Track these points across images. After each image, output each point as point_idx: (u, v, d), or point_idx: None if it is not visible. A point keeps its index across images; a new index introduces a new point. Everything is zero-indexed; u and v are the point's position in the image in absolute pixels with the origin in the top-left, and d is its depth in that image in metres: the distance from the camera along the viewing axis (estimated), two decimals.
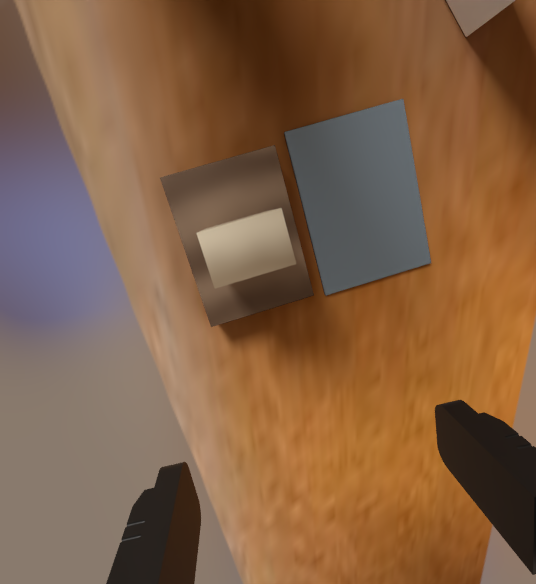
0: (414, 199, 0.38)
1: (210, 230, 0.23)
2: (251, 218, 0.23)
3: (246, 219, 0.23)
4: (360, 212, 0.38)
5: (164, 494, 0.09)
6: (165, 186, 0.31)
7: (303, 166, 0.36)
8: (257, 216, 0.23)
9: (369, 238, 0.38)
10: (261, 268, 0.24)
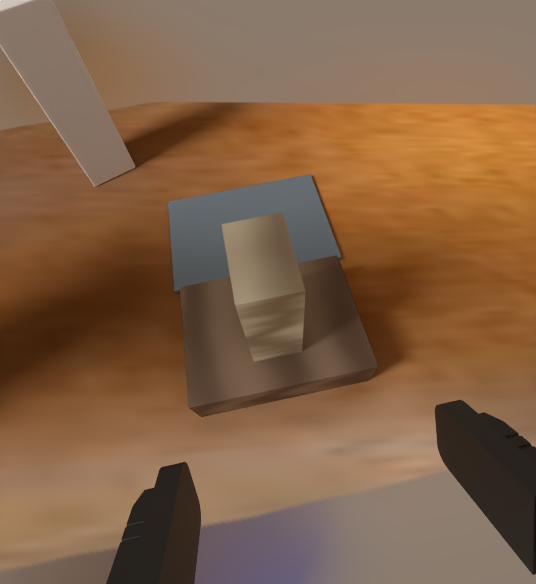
0: (251, 189, 0.42)
1: (234, 290, 0.19)
2: (227, 250, 0.21)
3: (228, 255, 0.21)
4: None
5: (164, 494, 0.09)
6: (199, 402, 0.26)
7: (208, 276, 0.36)
8: (226, 244, 0.21)
9: None
10: (284, 242, 0.21)
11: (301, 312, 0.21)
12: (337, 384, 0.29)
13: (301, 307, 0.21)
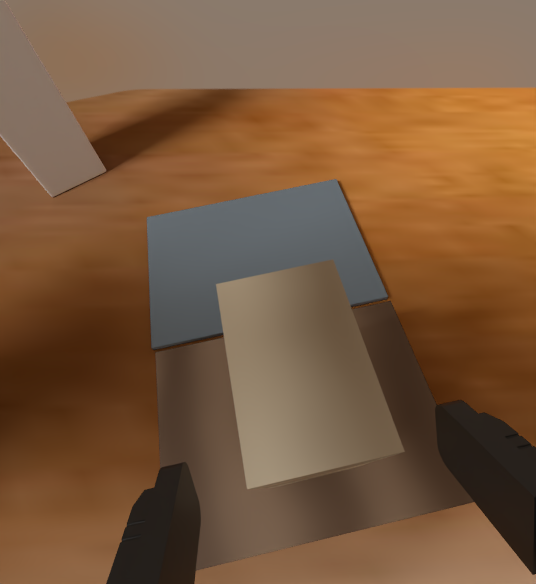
0: (258, 200, 0.32)
1: (244, 446, 0.09)
2: (228, 343, 0.10)
3: (229, 355, 0.10)
4: (268, 254, 0.28)
5: (164, 494, 0.09)
6: None
7: (200, 324, 0.26)
8: (225, 330, 0.10)
9: (303, 244, 0.29)
10: (344, 327, 0.10)
11: (376, 460, 0.11)
12: None
13: None
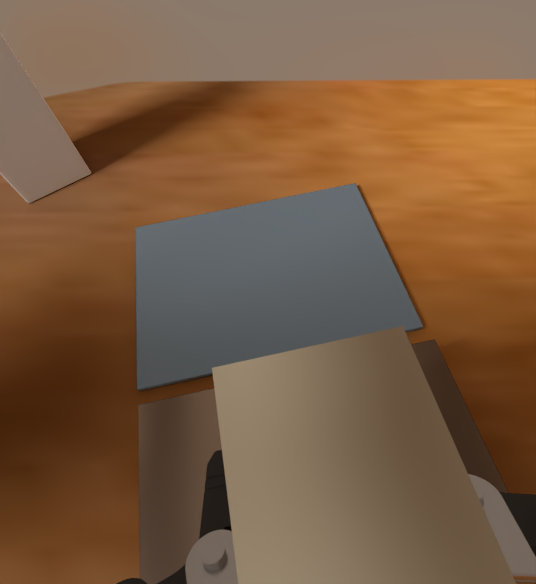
0: (265, 207, 0.27)
1: None
2: (232, 487, 0.06)
3: (234, 511, 0.06)
4: (277, 273, 0.24)
5: None
6: None
7: (196, 360, 0.21)
8: (228, 460, 0.06)
9: (319, 260, 0.24)
10: (435, 459, 0.06)
11: None
12: None
13: None
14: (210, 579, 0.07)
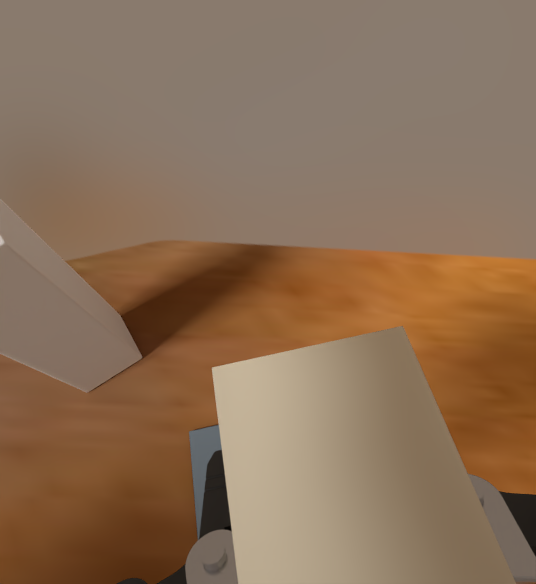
0: None
1: None
2: (233, 487, 0.06)
3: (234, 511, 0.06)
4: None
5: None
6: None
7: None
8: (228, 460, 0.06)
9: None
10: (435, 459, 0.06)
11: None
12: None
13: None
14: (210, 579, 0.07)
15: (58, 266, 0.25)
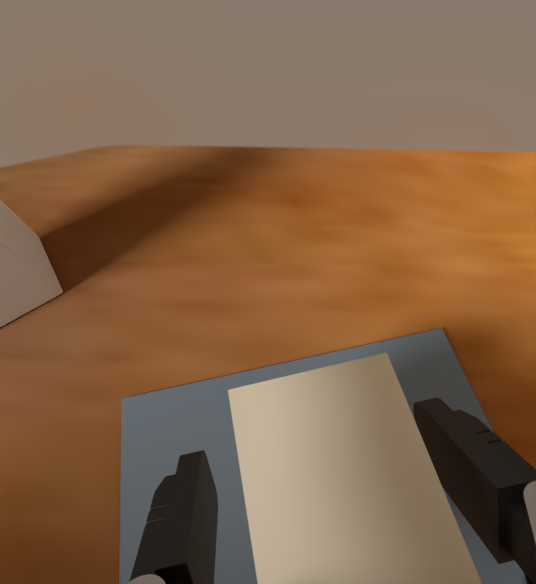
0: (312, 368, 0.18)
1: None
2: (248, 490, 0.07)
3: (250, 509, 0.07)
4: None
5: (186, 479, 0.09)
6: None
7: None
8: (244, 467, 0.07)
9: None
10: (412, 464, 0.07)
11: None
12: None
13: None
14: None
15: None
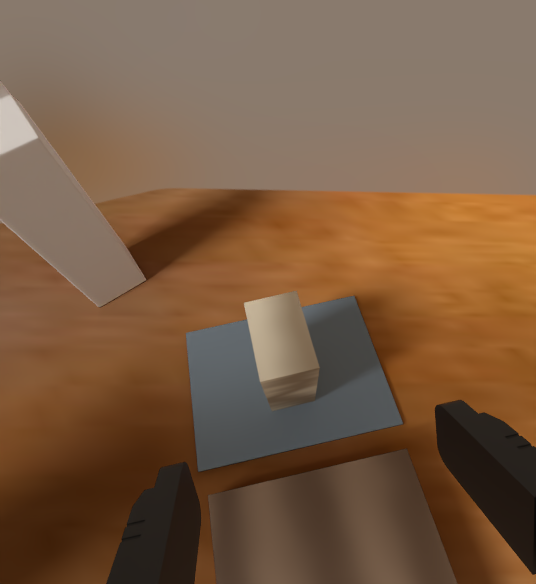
0: None
1: (258, 367, 0.23)
2: (250, 328, 0.24)
3: (251, 333, 0.24)
4: None
5: (164, 494, 0.09)
6: None
7: (239, 448, 0.30)
8: (249, 323, 0.24)
9: (327, 365, 0.33)
10: (299, 321, 0.24)
11: (316, 379, 0.25)
12: None
13: (315, 376, 0.24)
14: None
15: (76, 181, 0.30)
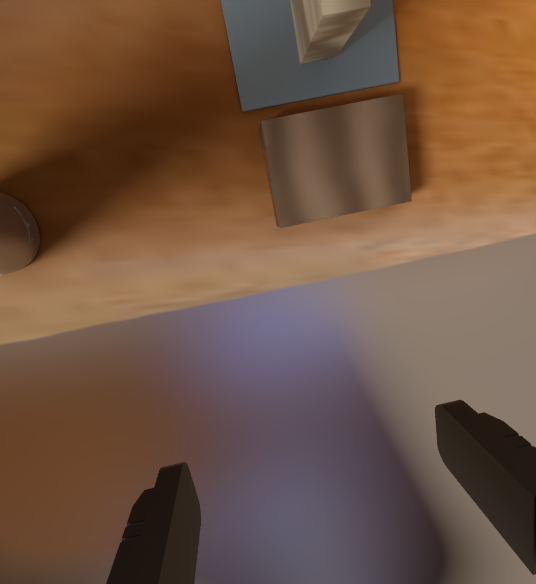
0: None
1: (322, 1, 0.27)
2: None
3: None
4: None
5: (164, 494, 0.09)
6: (288, 224, 0.38)
7: (273, 94, 0.38)
8: None
9: None
10: None
11: (357, 23, 0.30)
12: None
13: (359, 19, 0.30)
14: None
15: None
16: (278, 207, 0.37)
